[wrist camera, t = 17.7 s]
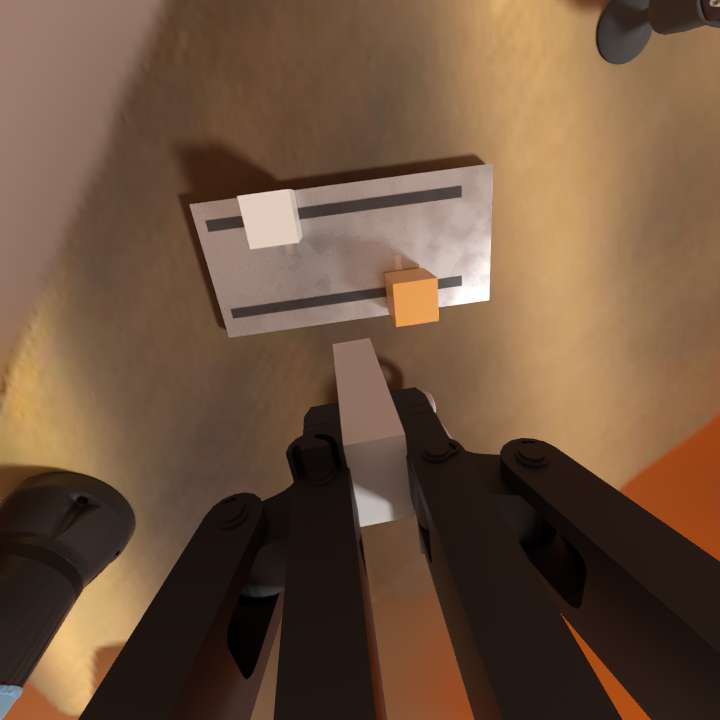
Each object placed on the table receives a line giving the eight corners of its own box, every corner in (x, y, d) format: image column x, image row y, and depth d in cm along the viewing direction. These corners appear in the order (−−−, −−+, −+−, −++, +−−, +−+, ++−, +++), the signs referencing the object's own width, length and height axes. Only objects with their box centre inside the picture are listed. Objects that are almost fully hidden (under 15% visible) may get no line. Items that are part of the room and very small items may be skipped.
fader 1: (260, 242, 34) (250, 249, 29) (249, 196, 32) (237, 196, 28) (302, 236, 34) (298, 242, 29) (294, 190, 32) (288, 189, 28)
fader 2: (387, 311, 38) (396, 326, 33) (384, 273, 36) (392, 284, 31) (425, 305, 38) (438, 320, 33) (423, 267, 36) (437, 277, 31)
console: (232, 332, 39) (228, 338, 38) (194, 204, 34) (188, 204, 32) (483, 296, 40) (489, 300, 38) (486, 164, 34) (493, 163, 33)
